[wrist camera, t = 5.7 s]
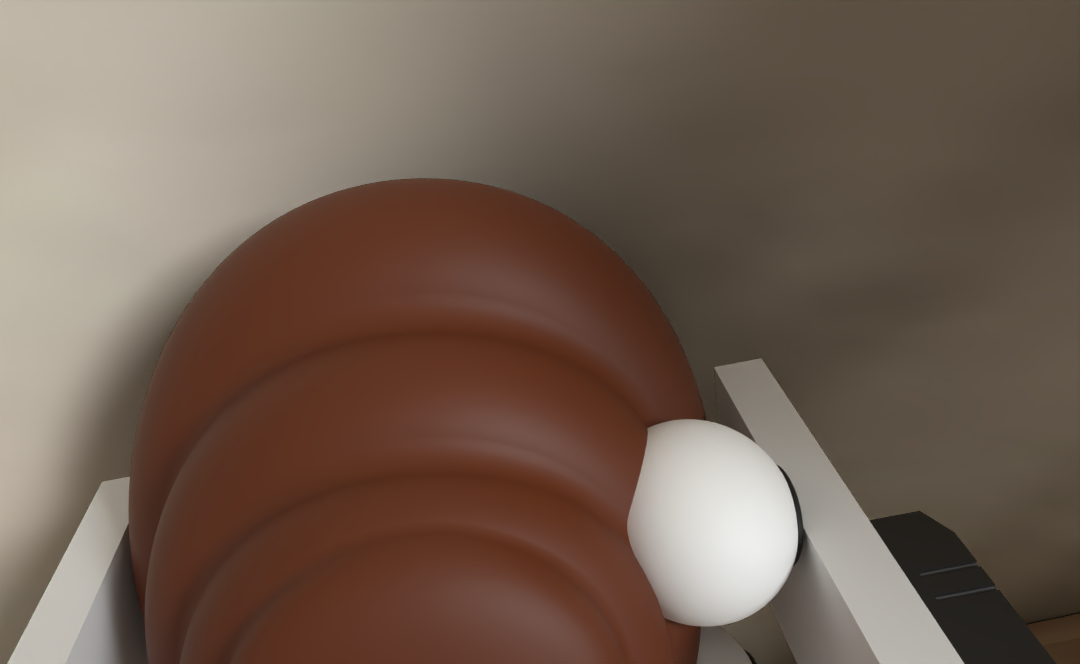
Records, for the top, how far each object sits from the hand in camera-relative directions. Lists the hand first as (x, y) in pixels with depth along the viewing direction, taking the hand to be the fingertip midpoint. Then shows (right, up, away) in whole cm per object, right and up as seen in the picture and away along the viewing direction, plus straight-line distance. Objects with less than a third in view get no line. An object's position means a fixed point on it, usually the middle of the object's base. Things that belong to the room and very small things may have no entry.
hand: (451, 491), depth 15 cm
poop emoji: (0, +1, +1) cm, 1 cm away
